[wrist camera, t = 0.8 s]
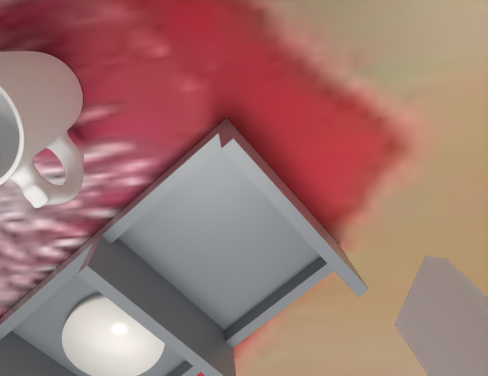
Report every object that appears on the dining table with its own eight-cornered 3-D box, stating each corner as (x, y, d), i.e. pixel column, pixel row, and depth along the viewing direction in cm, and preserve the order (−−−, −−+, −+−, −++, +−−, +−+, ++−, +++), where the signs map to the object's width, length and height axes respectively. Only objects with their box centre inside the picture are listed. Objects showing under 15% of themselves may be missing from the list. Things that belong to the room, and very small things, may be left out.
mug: (-29, 82, 30) (-166, 110, 18) (42, 27, 29) (-58, 22, 18) (68, 186, 33) (1, 262, 22) (133, 140, 32) (98, 195, 21)
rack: (-4, 321, 37) (-48, 382, 30) (226, 117, 32) (233, 138, 26) (126, 409, 42) (113, 478, 36) (339, 245, 38) (368, 289, 31)
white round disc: (44, 332, 37) (39, 341, 36) (114, 272, 35) (111, 280, 34) (118, 384, 40) (116, 394, 38) (186, 331, 38) (185, 340, 37)
